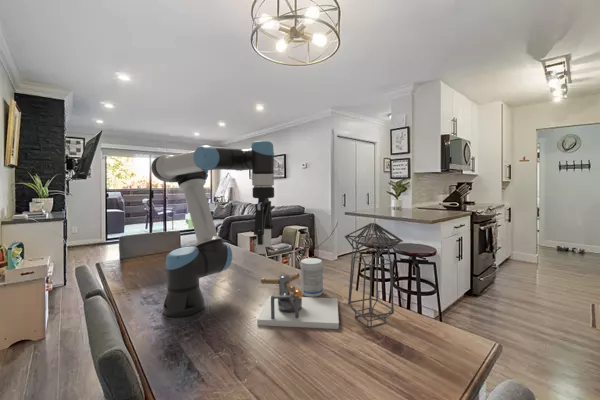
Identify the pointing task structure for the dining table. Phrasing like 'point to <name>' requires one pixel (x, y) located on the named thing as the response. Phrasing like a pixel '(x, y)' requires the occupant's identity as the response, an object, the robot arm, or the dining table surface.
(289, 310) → the capstan
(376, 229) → the geometric lantern
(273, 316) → the white base plate
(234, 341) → the dining table surface
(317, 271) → the supplement tub
